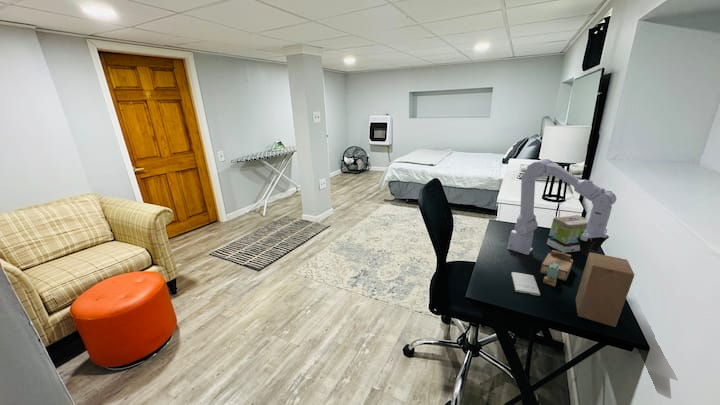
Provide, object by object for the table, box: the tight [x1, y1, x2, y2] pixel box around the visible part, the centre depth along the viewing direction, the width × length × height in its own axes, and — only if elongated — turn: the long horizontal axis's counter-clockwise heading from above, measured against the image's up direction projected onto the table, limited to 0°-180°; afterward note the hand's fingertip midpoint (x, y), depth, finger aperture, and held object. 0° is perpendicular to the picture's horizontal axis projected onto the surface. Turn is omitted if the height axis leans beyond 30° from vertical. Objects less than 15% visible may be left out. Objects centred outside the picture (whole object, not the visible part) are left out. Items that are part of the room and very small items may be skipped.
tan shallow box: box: [539, 261, 574, 287], centre depth 118 cm, size 9×19×3 cm, turn 137°
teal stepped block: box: [546, 263, 559, 280], centre depth 114 cm, size 3×4×7 cm
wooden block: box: [575, 251, 635, 328], centre depth 94 cm, size 10×10×20 cm
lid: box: [541, 249, 574, 273], centre depth 119 cm, size 9×12×3 cm
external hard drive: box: [510, 271, 541, 297], centre depth 113 cm, size 2×8×12 cm
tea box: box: [546, 214, 592, 254], centre depth 137 cm, size 15×10×15 cm, turn 104°
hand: (588, 252), depth 115 cm, fingers open, 7 cm apart
